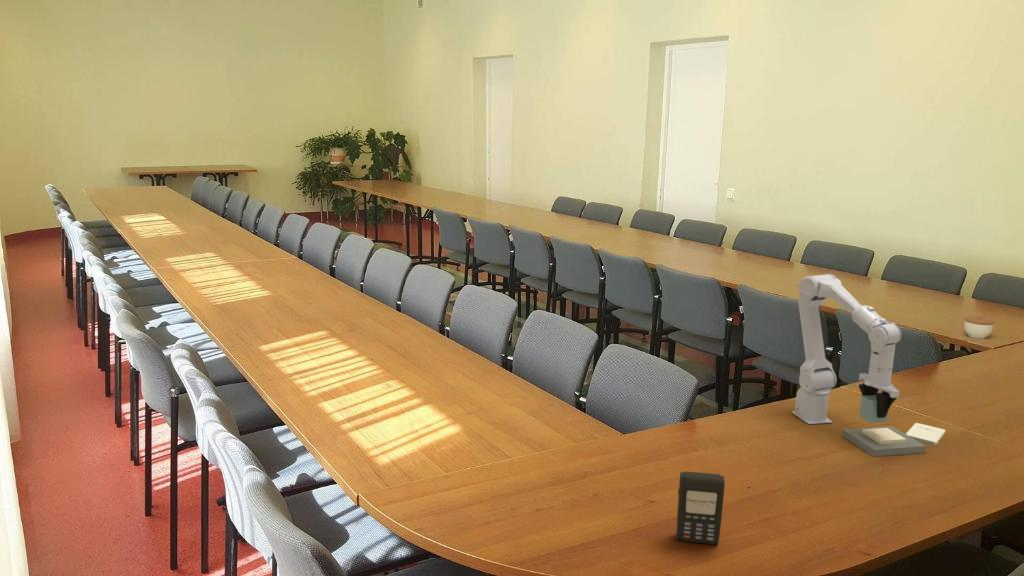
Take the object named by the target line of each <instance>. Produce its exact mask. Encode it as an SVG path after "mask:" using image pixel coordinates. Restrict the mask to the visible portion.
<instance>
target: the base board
mask: <svg viewBox="0 0 1024 576" xmlns="http://www.w3.org/2000/svg"><path fill="white" fill-rule="evenodd" d="M841 436H842V437H843V438H844V437H845V438H844V439H845V440H847V439H848V441H849V442H850V443H852V444H854V445H855V446H856V447H858V448H860V449H861V450H862V451H864V452H866V453H868V454H869V455H870V454H871V457H873V456H875V457H887V456H900V455H901V454H903V455H912V454H913V453H916V454H925V453H926V450H927V445H925V444H924V443H923V442H919V441H917V440H915V439H913V438H911V437H910V436H908V435H906V433H904V432H903V431H901V430H899V429H898V428H896V427H894V426H893V425H891V426H875V427H863V428H862V427H861V428H859V427H858V428H847V429H846V428H844V429H842V434H841ZM913 455H914V454H913Z"/></svg>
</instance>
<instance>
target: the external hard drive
mask: <svg viewBox="0 0 1024 576" xmlns="http://www.w3.org/2000/svg"><path fill="white" fill-rule="evenodd" d="M905 434H906V435H908V436H910V437H911V438H913V439H915V440H917V441H918V442H919V441H921V442H920V443H923V442H924V443H923V444H927V443H928V445H931V444H933V445H932V446H935V445H936V444H938V443H939V442H940V441H941V440H942V438H943V437H944V435H945V434H946V429H944V428H940V427H935V426H932V425H927V424H923V423H920V422H919V423H918V422H915V423H914V424H913V425H912V426H911V427H910V428H909V430H907V432H906V433H905ZM939 440H940V441H939ZM936 446H937V445H936Z"/></svg>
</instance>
